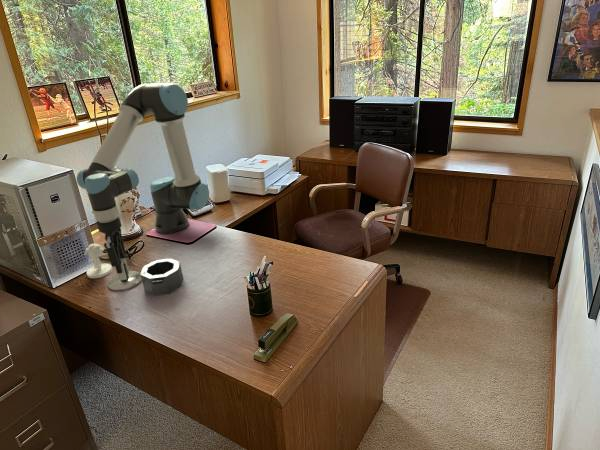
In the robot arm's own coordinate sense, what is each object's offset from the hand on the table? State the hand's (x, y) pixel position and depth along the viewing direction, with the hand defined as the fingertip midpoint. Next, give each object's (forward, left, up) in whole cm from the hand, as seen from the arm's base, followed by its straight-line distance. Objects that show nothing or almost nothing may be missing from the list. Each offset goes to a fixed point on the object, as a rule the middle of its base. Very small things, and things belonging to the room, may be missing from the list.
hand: (124, 276), depth 158 cm
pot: (+6, +15, -2) cm, 16 cm away
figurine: (-10, -12, -2) cm, 16 cm away
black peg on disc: (0, 0, -2) cm, 2 cm away
